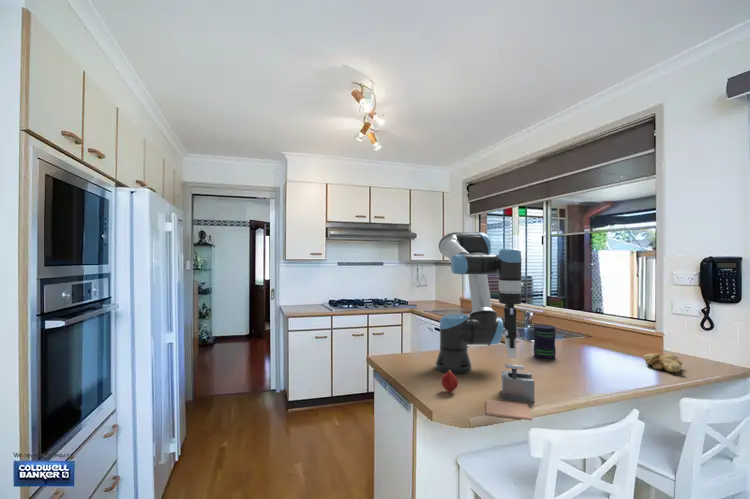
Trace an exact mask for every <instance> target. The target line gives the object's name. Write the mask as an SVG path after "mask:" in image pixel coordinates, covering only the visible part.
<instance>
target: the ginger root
mask: <svg viewBox="0 0 750 499" xmlns="http://www.w3.org/2000/svg"><path fill="white" fill-rule="evenodd" d="M643 359H644V361H645V364H647V365H648V366H652V368H653V369H655V370H657V371H658V370H664V371H666V372H669V373H678V372H680V371H681V370H682V366H683V362H682V361H681V360H680V359H679V357H678V355H677V354H673V353H671V354H666V355H664V356H663V355H661V354H660V353H659V352H653V353H647V354H645V355H644V356H643Z"/></svg>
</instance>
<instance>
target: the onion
mask: <svg viewBox="0 0 750 499" xmlns="http://www.w3.org/2000/svg"><path fill="white" fill-rule="evenodd" d="M440 382H441V386H442V388H443V389H444V390H445V391H446V392H447V393H449V394H450V393H453V391H455V390H456V389H457V388H458V383H459V381H458V378H457V376H456V375H455V374H453V373H452V372H451V370H449V371H448V372H447V373H444V375H443V376H442V377H441V381H440Z"/></svg>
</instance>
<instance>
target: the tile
mask: <svg viewBox="0 0 750 499" xmlns="http://www.w3.org/2000/svg"><path fill="white" fill-rule="evenodd" d="M530 410H531V409H530V408H529V404H528V403H521V402H511V401H504V400H503V401H501V400H494V399H485V414H486V415H487V416H493V417H495V416H496V417H502V418H503V417H504V418H511V419H517V420H527V421H533V417H532V414H531V411H530Z"/></svg>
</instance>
